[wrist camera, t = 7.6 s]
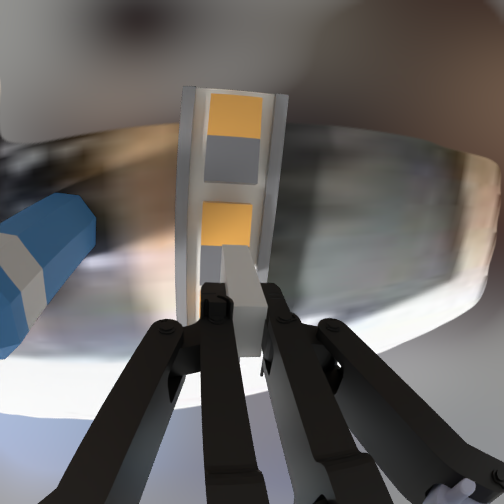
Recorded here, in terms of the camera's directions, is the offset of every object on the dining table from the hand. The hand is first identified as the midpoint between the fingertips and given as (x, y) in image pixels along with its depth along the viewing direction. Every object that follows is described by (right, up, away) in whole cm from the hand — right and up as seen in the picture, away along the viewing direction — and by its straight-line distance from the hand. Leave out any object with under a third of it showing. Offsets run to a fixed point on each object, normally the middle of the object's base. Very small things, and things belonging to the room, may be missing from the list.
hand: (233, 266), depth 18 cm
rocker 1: (-1, +11, +8) cm, 13 cm away
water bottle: (-22, +4, +15) cm, 27 cm away
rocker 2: (-2, +2, +12) cm, 12 cm away
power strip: (-2, +4, +17) cm, 18 cm away
